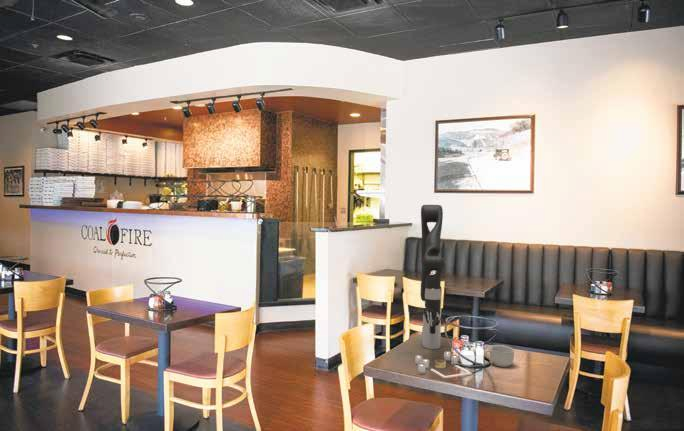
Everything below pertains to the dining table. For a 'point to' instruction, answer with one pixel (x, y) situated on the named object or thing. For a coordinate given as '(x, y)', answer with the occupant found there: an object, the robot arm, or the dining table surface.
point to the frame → (453, 375)
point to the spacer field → (424, 363)
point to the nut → (440, 363)
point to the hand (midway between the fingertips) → (432, 333)
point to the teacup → (500, 355)
